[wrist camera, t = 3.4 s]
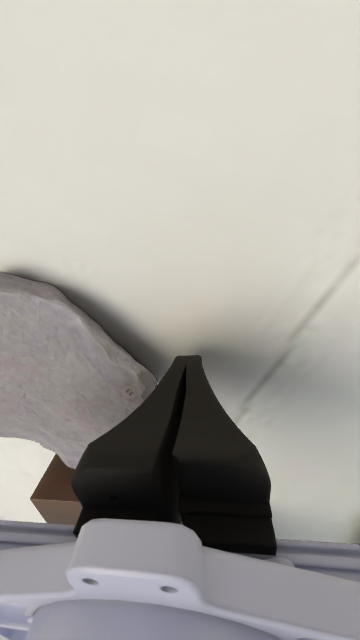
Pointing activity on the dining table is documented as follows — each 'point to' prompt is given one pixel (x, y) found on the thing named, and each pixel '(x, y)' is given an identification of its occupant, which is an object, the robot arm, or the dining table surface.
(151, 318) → the dining table surface
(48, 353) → the stone block
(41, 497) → the walnut cube
